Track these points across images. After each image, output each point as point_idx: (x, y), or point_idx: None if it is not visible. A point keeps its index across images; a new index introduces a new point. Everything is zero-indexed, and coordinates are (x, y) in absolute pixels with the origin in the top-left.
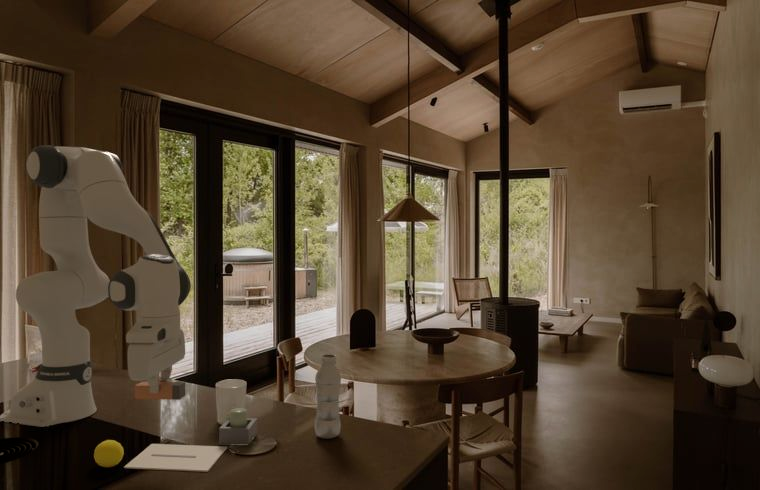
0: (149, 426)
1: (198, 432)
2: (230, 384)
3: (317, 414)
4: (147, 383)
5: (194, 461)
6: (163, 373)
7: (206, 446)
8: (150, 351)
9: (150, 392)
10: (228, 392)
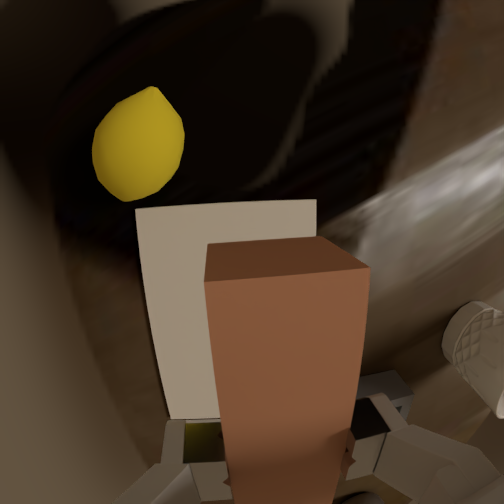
0: (440, 125)
1: (408, 292)
2: None
3: None
4: (299, 370)
5: (208, 379)
6: (419, 464)
7: None
8: None
9: (166, 424)
10: (490, 393)
